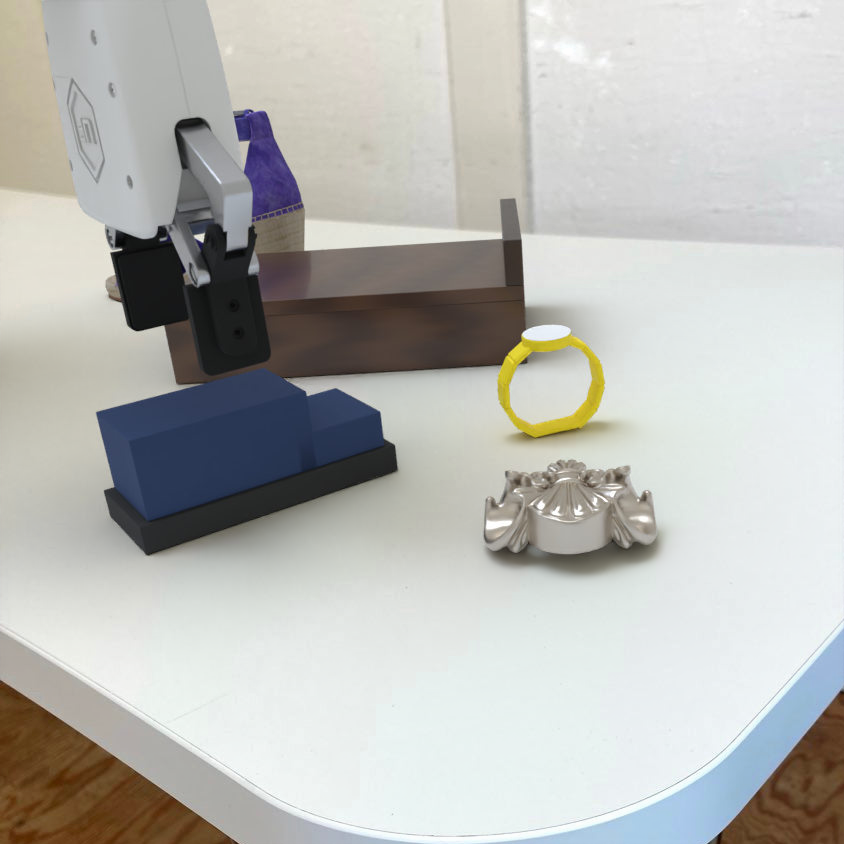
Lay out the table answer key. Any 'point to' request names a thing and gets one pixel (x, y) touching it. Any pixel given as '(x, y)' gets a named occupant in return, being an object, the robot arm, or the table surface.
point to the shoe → (233, 454)
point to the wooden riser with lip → (383, 308)
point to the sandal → (262, 193)
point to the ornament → (569, 510)
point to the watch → (546, 341)
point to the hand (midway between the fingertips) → (196, 344)
